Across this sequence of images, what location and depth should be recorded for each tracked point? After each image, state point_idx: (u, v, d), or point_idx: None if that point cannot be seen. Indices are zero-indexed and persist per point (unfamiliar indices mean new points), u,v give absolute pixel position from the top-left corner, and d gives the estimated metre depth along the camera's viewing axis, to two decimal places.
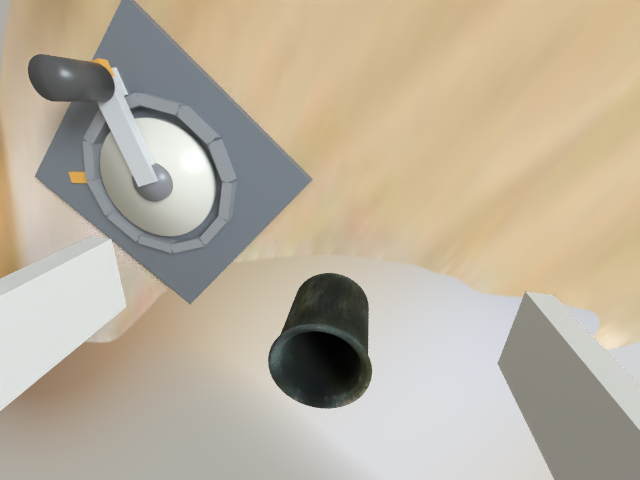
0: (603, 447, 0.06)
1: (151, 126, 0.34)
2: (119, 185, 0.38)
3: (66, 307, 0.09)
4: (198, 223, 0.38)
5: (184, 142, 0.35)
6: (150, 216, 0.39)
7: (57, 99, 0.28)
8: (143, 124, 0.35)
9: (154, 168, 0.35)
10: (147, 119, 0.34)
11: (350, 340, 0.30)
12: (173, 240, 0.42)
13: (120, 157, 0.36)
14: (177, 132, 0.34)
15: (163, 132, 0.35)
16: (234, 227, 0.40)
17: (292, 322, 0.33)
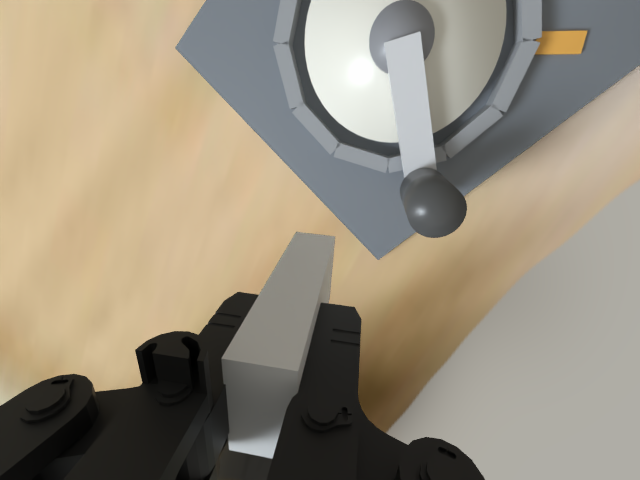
0: None
1: (378, 130, 0.25)
2: (471, 31, 0.22)
3: None
4: None
5: (334, 107, 0.25)
6: None
7: (435, 185, 0.19)
8: (389, 133, 0.25)
9: (384, 66, 0.22)
10: (381, 140, 0.25)
11: None
12: None
13: (448, 83, 0.23)
14: (341, 121, 0.25)
15: (362, 122, 0.25)
16: None
17: None
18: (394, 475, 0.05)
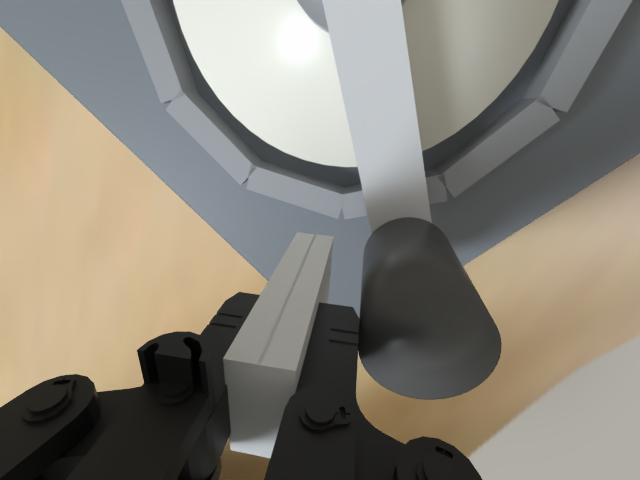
0: None
1: (322, 145, 0.13)
2: None
3: None
4: None
5: (239, 101, 0.13)
6: None
7: (422, 295, 0.08)
8: (343, 150, 0.13)
9: (320, 16, 0.11)
10: (329, 162, 0.14)
11: None
12: None
13: (453, 52, 0.11)
14: (255, 128, 0.14)
15: (292, 130, 0.13)
16: None
17: None
18: (391, 474, 0.05)
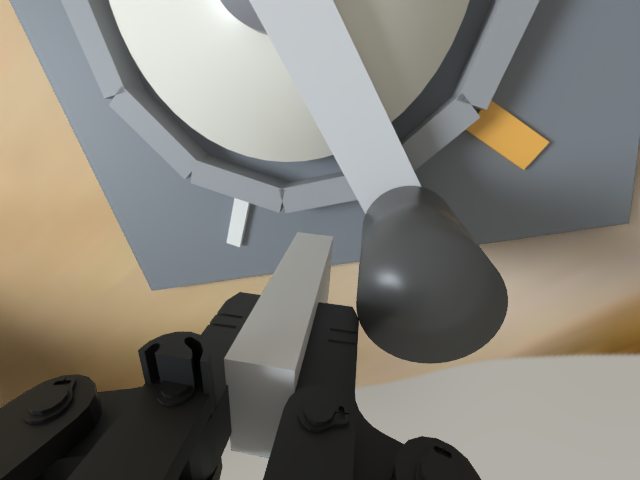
0: None
1: (297, 142, 0.14)
2: None
3: None
4: None
5: (211, 125, 0.14)
6: None
7: (405, 251, 0.07)
8: (318, 142, 0.13)
9: (256, 21, 0.11)
10: (308, 157, 0.14)
11: None
12: None
13: (394, 14, 0.11)
14: (231, 145, 0.14)
15: (265, 136, 0.14)
16: None
17: None
18: (390, 474, 0.05)
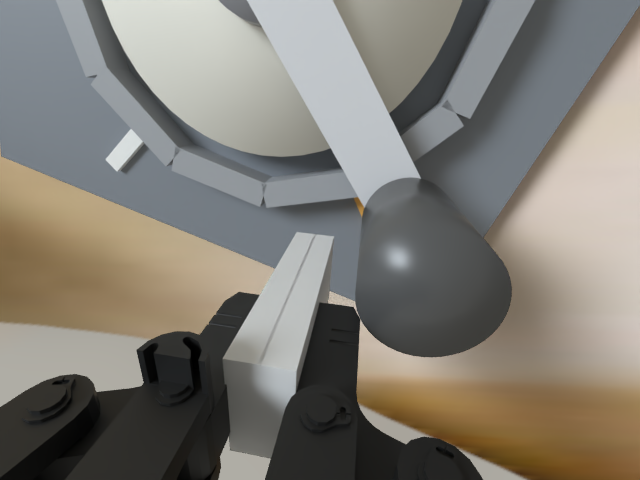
0: None
1: (293, 136, 0.13)
2: None
3: None
4: None
5: (206, 120, 0.14)
6: None
7: (403, 240, 0.07)
8: (315, 135, 0.13)
9: (249, 12, 0.11)
10: (305, 151, 0.14)
11: None
12: None
13: (390, 2, 0.11)
14: (227, 141, 0.14)
15: (261, 131, 0.14)
16: None
17: None
18: (392, 475, 0.05)
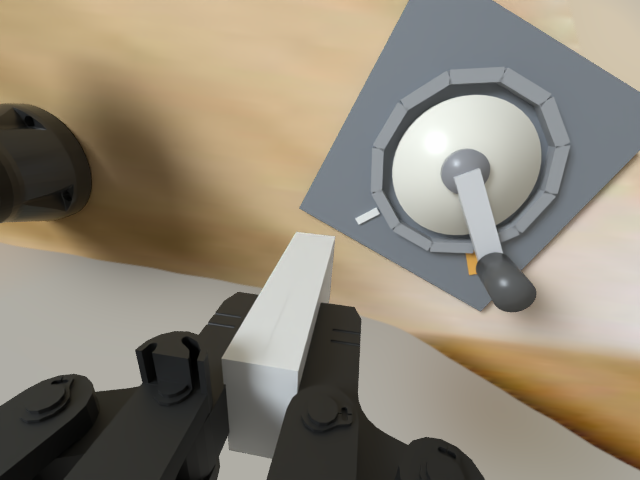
0: None
1: (452, 228, 0.34)
2: (516, 159, 0.31)
3: None
4: (414, 124, 0.31)
5: (418, 216, 0.34)
6: (483, 122, 0.30)
7: (511, 279, 0.28)
8: (461, 229, 0.34)
9: (455, 190, 0.32)
10: (455, 234, 0.34)
11: None
12: (548, 149, 0.31)
13: (502, 193, 0.32)
14: (424, 224, 0.35)
15: (440, 223, 0.34)
16: (516, 61, 0.29)
17: None
18: (394, 475, 0.05)
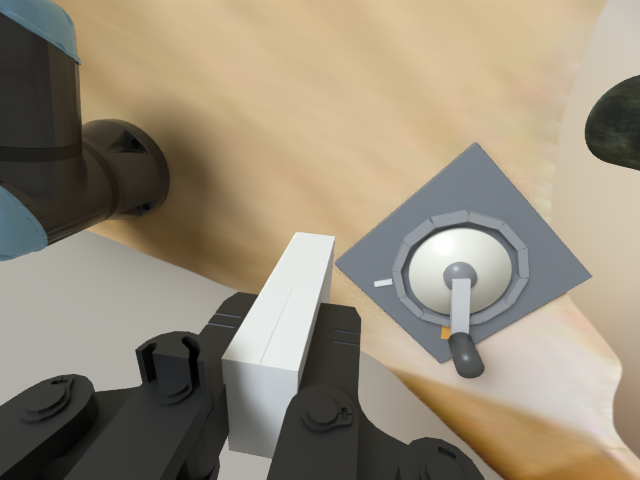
0: None
1: (440, 308, 0.48)
2: (494, 277, 0.45)
3: None
4: (436, 238, 0.44)
5: (419, 294, 0.48)
6: (480, 250, 0.44)
7: (471, 359, 0.43)
8: (446, 310, 0.48)
9: (450, 287, 0.46)
10: (441, 312, 0.49)
11: None
12: (515, 275, 0.46)
13: (479, 295, 0.47)
14: (422, 301, 0.48)
15: (432, 303, 0.48)
16: (511, 218, 0.43)
17: None
18: (394, 475, 0.05)
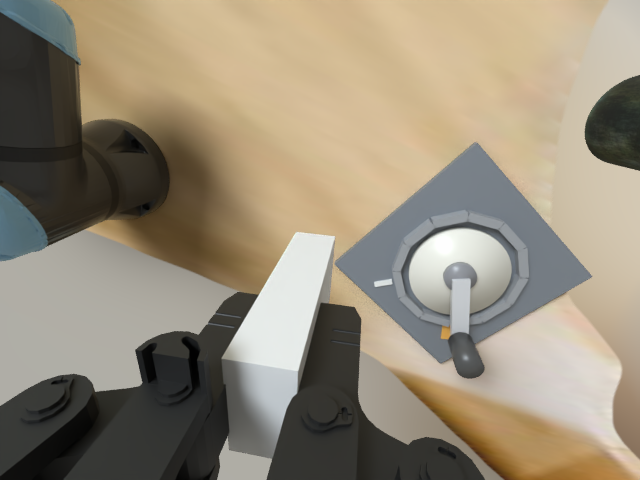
0: None
1: (440, 308, 0.48)
2: (494, 277, 0.45)
3: None
4: (436, 238, 0.44)
5: (419, 294, 0.48)
6: (480, 250, 0.44)
7: (471, 359, 0.43)
8: (446, 310, 0.48)
9: (450, 287, 0.46)
10: (441, 312, 0.49)
11: None
12: (515, 275, 0.46)
13: (479, 295, 0.47)
14: (422, 301, 0.48)
15: (432, 303, 0.48)
16: (511, 218, 0.43)
17: None
18: (394, 475, 0.05)
